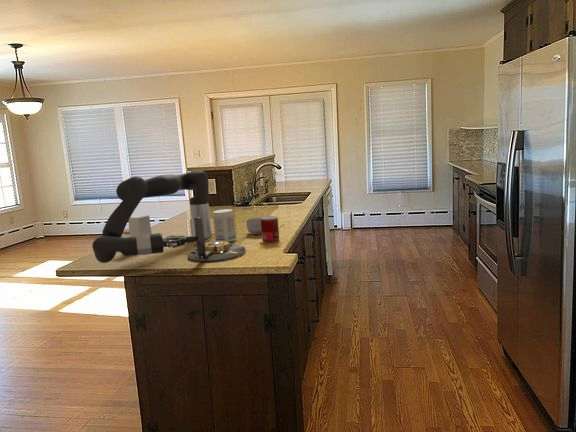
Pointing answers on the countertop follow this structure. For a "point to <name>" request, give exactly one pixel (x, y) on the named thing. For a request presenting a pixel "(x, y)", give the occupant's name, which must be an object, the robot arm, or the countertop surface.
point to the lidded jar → (126, 233)
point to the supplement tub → (224, 225)
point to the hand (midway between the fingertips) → (195, 238)
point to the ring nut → (203, 247)
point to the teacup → (254, 225)
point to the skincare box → (139, 225)
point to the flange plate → (220, 256)
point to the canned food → (270, 229)
